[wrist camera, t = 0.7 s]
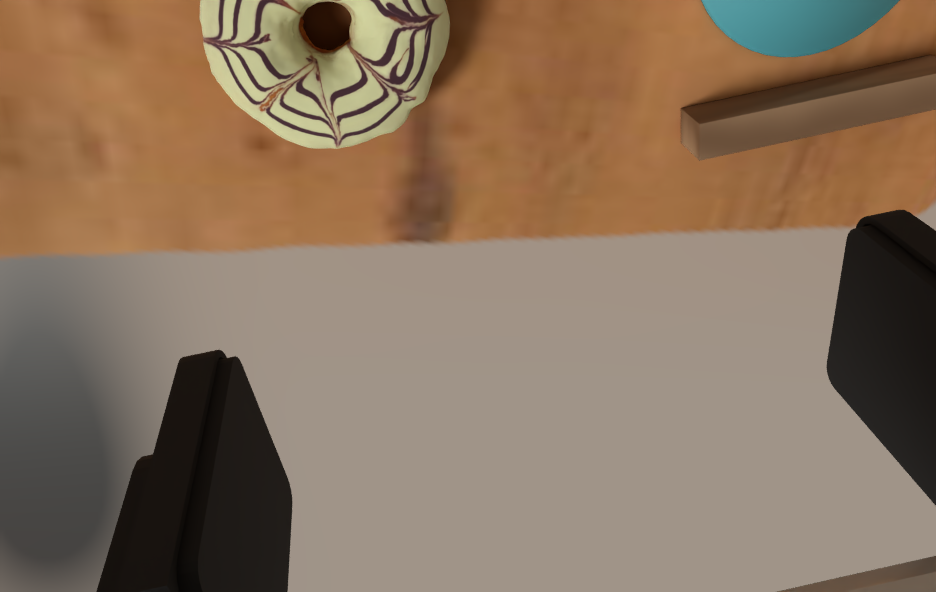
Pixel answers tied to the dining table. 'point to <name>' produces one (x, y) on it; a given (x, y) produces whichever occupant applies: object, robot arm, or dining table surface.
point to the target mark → (795, 23)
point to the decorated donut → (325, 65)
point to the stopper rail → (809, 108)
